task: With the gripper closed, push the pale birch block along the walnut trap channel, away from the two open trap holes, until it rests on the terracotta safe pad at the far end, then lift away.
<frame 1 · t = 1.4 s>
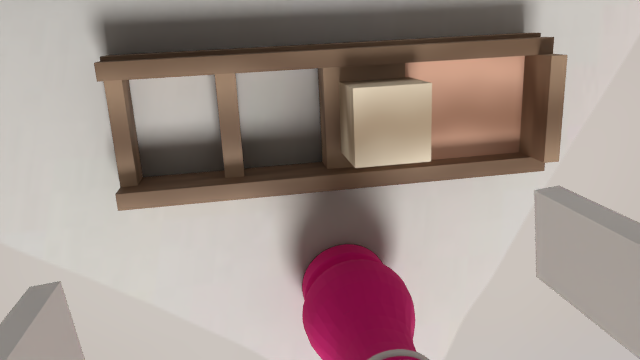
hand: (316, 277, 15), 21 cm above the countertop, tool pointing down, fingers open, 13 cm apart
trap channel: (330, 113, 35), on the countertop
birch block: (374, 115, 34), point 2 cm above the countertop, touching trap channel
pepper mill: (343, 281, 39), on the countertop
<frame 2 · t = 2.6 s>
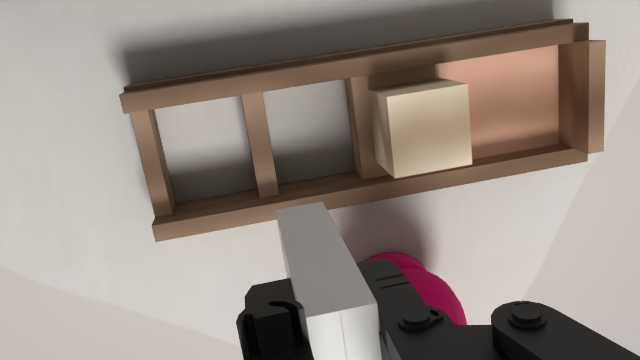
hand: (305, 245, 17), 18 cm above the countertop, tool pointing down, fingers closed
trap channel: (360, 121, 34), on the countertop
birch block: (407, 120, 32), point 2 cm above the countertop, touching trap channel
pepper mill: (386, 290, 38), on the countertop
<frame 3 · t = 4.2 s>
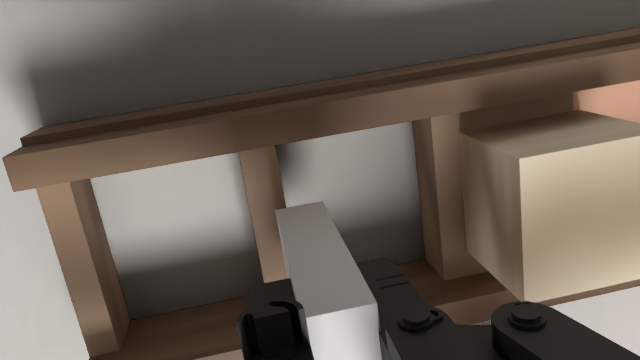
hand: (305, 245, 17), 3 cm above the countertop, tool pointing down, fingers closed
trap channel: (435, 179, 21), on the countertop
birch block: (522, 182, 19), point 2 cm above the countertop, touching trap channel
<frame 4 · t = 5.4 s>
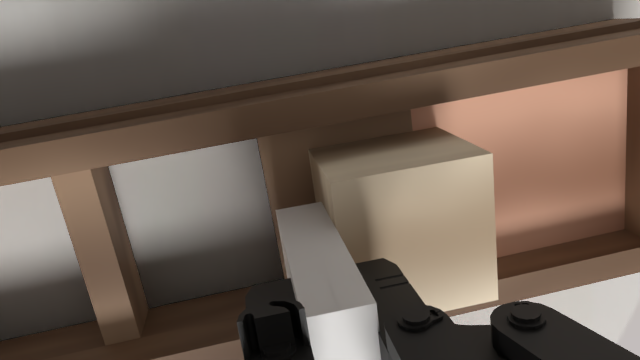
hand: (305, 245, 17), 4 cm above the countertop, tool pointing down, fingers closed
trap channel: (287, 199, 20), on the countertop
birch block: (380, 200, 18), point 2 cm above the countertop, touching gripper
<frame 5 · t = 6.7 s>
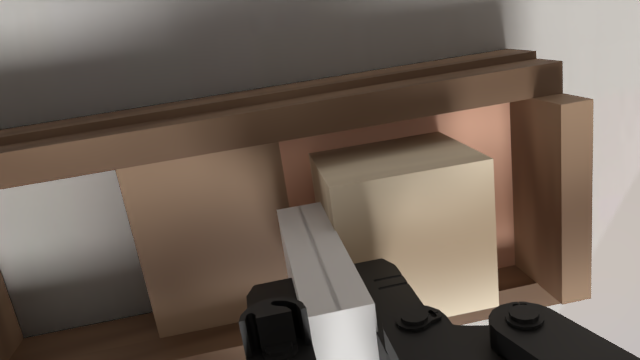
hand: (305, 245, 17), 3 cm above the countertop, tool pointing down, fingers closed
trap channel: (166, 228, 19), on the countertop
birch block: (381, 204, 18), point 2 cm above the countertop, touching gripper, trap channel
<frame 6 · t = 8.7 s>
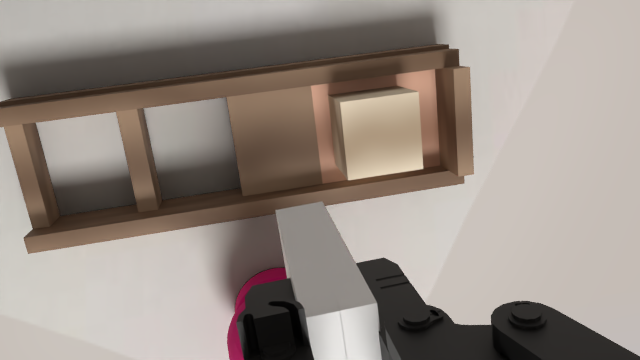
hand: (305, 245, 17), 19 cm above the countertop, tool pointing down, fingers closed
trap channel: (245, 139, 35), on the countertop
birch block: (366, 125, 34), point 2 cm above the countertop, touching trap channel
pepper mill: (278, 305, 38), on the countertop
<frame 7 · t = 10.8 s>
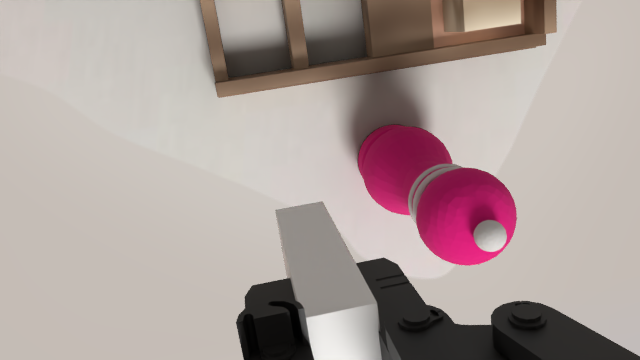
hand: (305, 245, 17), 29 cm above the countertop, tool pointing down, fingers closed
trap channel: (370, 15, 44), on the countertop
pepper mill: (390, 158, 48), on the countertop
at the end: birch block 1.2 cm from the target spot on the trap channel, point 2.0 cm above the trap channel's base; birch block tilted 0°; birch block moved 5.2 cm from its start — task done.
